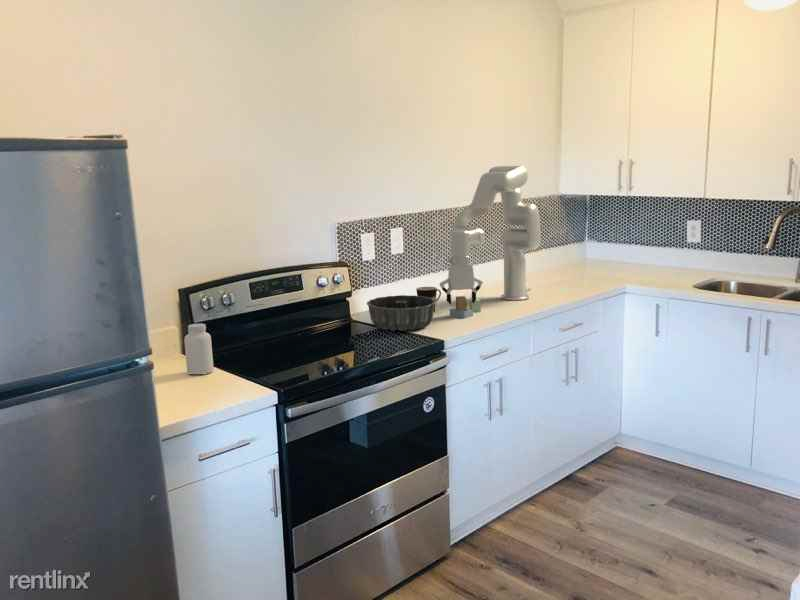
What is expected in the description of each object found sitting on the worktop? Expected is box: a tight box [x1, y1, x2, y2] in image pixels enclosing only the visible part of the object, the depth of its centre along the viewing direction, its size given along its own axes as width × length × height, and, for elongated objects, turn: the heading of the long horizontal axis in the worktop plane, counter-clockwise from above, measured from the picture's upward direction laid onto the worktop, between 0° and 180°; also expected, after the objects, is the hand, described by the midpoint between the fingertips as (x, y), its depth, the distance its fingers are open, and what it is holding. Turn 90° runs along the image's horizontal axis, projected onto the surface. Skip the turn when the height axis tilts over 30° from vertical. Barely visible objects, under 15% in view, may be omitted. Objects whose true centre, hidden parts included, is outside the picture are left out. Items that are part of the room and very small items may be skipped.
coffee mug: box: [415, 286, 442, 313], centre depth 304 cm, size 12×9×10 cm
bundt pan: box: [366, 294, 437, 332], centre depth 279 cm, size 26×26×10 cm
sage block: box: [468, 297, 482, 313], centre depth 303 cm, size 6×4×5 cm, turn 5°
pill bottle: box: [183, 323, 214, 374], centre depth 225 cm, size 8×8×15 cm
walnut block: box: [455, 295, 468, 311], centre depth 294 cm, size 6×4×5 cm, turn 3°
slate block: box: [449, 307, 474, 319], centre depth 294 cm, size 8×5×3 cm, turn 43°
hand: (461, 302), depth 294 cm, fingers open, 9 cm apart
